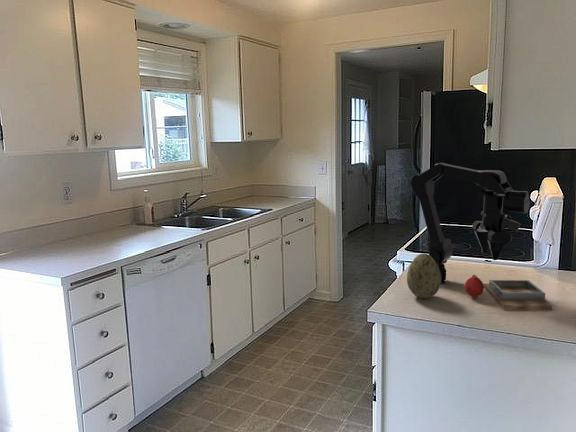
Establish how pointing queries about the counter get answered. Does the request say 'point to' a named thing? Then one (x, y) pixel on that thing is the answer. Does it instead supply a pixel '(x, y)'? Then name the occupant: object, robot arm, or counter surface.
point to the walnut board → (518, 304)
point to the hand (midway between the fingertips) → (489, 256)
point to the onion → (474, 286)
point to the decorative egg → (424, 276)
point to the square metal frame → (516, 296)
